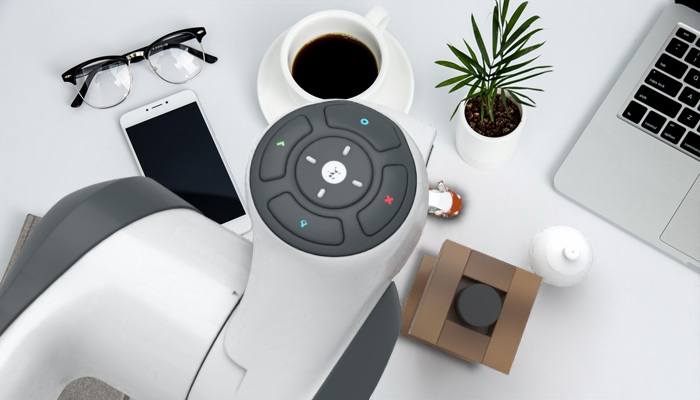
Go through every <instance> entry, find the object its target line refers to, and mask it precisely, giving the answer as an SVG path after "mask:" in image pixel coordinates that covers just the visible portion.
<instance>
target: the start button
mask: <svg viewBox="0 0 700 400" xmlns="http://www.w3.org/2000/svg"><path fill="white" fill-rule="evenodd" d="M501 308H502V304H501V299H500V297H499V295H498V293H497V292H496V291H495V290H494V289H493V288H491V287H490V286H488V285H485V284H474V285H470V286H467V287H465V288H464V289H462V290H461V291H460V292H459V293H458V295H457V297H456V300H455V311H456V314H457V316H458V317H459V318H460V320H461V321H463V322H464V323H465V324H467V325H470V326H475V327H485V326H489V325H491V324H492V323H494V322H495V321H496V320H497V319H498V317H499V315H500V313H501Z"/></svg>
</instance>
